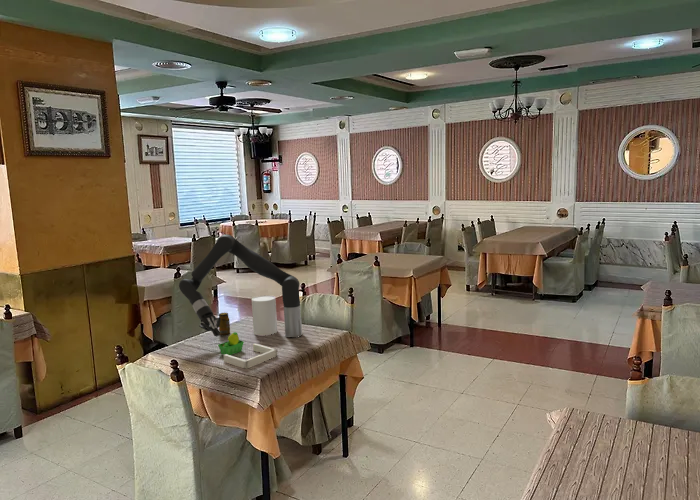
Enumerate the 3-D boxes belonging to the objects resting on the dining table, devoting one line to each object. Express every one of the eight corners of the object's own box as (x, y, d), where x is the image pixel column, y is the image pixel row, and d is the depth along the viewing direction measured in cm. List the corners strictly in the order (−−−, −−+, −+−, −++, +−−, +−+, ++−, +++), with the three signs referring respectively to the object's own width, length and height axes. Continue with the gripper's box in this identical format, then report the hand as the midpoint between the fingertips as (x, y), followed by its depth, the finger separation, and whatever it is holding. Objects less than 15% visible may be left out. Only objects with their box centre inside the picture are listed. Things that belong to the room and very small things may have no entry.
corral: (224, 361, 245) (223, 354, 244) (255, 349, 260) (255, 343, 259) (245, 369, 234) (245, 361, 234) (277, 356, 250) (277, 349, 249)
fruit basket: (236, 348, 264) (234, 327, 262) (246, 351, 258) (245, 330, 257) (217, 354, 255) (216, 333, 254) (228, 358, 250) (227, 336, 248)
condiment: (227, 331, 294) (226, 311, 292) (234, 334, 287) (233, 314, 286) (216, 334, 289) (214, 313, 288) (222, 337, 283) (221, 316, 281)
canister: (249, 334, 285) (247, 300, 282) (260, 327, 298) (258, 295, 295) (271, 336, 281) (268, 301, 278) (281, 329, 294) (279, 295, 291)
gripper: (194, 308, 262) (210, 334, 256) (215, 302, 272) (231, 328, 266) (189, 316, 266) (204, 342, 260) (210, 310, 276) (225, 336, 270)
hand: (218, 335), depth 263 cm, fingers closed
